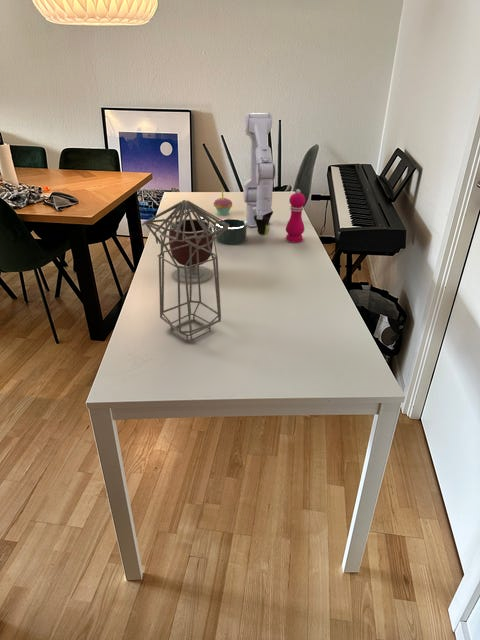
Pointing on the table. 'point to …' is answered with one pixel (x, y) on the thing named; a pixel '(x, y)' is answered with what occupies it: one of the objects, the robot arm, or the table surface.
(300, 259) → the table surface
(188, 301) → the geometric lantern
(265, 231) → the guava
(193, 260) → the mate gourd
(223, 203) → the cupcake
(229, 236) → the pot
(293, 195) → the pepper mill
